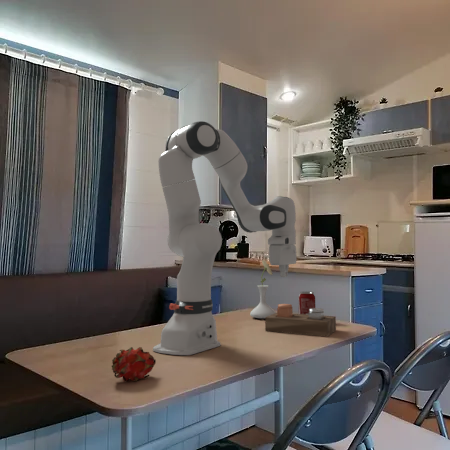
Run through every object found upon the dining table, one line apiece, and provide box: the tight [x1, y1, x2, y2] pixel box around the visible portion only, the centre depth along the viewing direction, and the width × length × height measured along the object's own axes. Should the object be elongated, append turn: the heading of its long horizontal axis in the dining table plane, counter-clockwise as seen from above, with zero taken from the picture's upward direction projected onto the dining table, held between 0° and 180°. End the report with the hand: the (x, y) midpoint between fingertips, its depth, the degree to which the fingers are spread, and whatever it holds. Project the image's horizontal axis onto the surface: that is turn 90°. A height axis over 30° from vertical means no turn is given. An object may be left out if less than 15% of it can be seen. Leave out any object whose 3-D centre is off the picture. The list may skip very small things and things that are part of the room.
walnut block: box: [264, 312, 337, 337], centre depth 164 cm, size 12×23×5 cm, turn 63°
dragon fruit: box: [111, 346, 157, 382], centre depth 108 cm, size 8×8×12 cm
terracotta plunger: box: [276, 303, 294, 318], centre depth 167 cm, size 5×5×7 cm
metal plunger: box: [309, 307, 325, 320], centre depth 161 cm, size 5×5×7 cm
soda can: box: [297, 290, 316, 315], centre depth 181 cm, size 7×7×12 cm
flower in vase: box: [249, 259, 277, 320], centre depth 193 cm, size 13×11×25 cm
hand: (283, 276), depth 167 cm, fingers closed
